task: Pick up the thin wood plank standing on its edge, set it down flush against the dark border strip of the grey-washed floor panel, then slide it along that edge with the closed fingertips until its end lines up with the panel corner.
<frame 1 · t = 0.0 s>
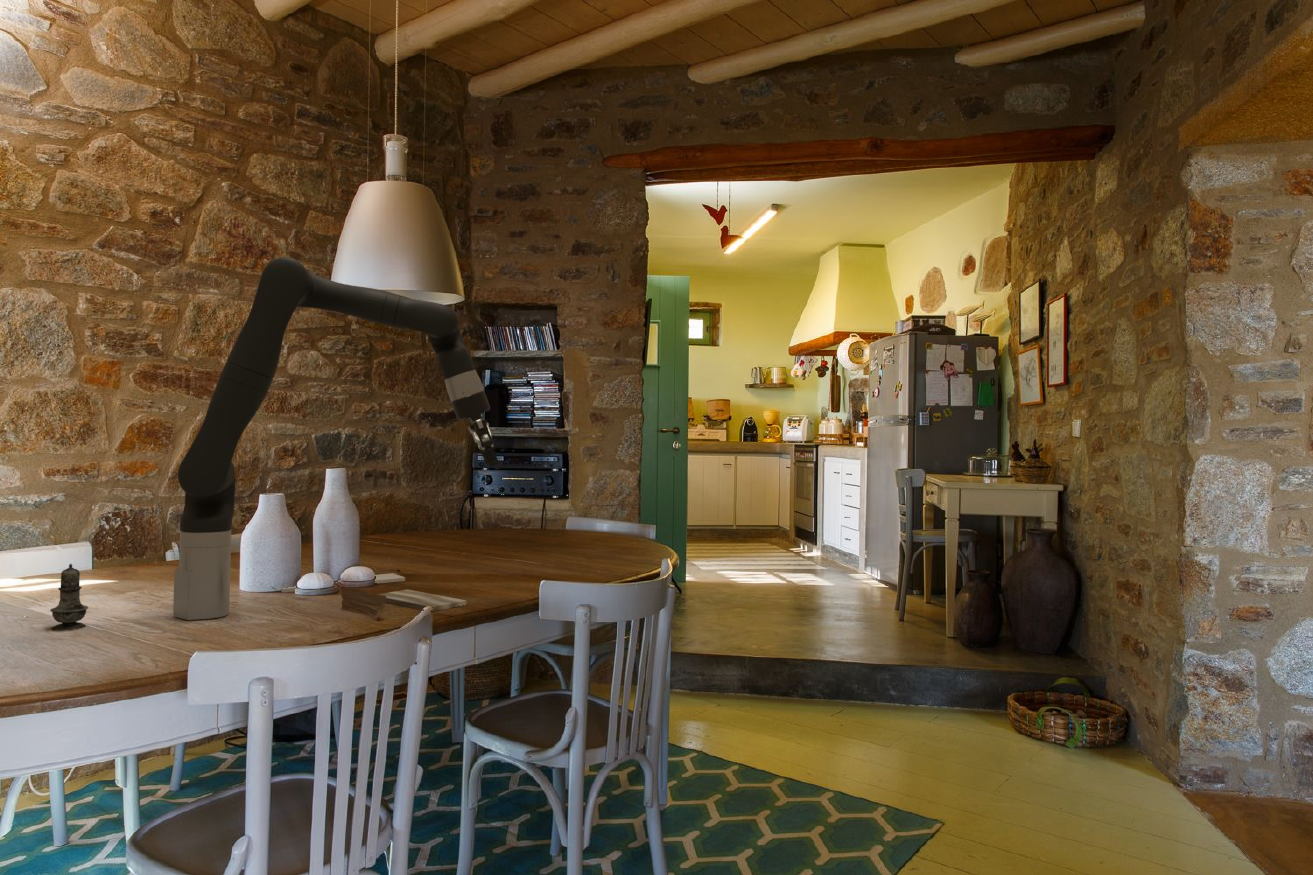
hand: (492, 464, 188), 31 cm above the table, tool tilted 20°, fingers open, 8 cm apart
salt shaker: (69, 628, 160), on the table
floor panel: (418, 602, 192), on the table
wood plank: (360, 616, 178), on the table
baseboard: (339, 586, 213), on the table
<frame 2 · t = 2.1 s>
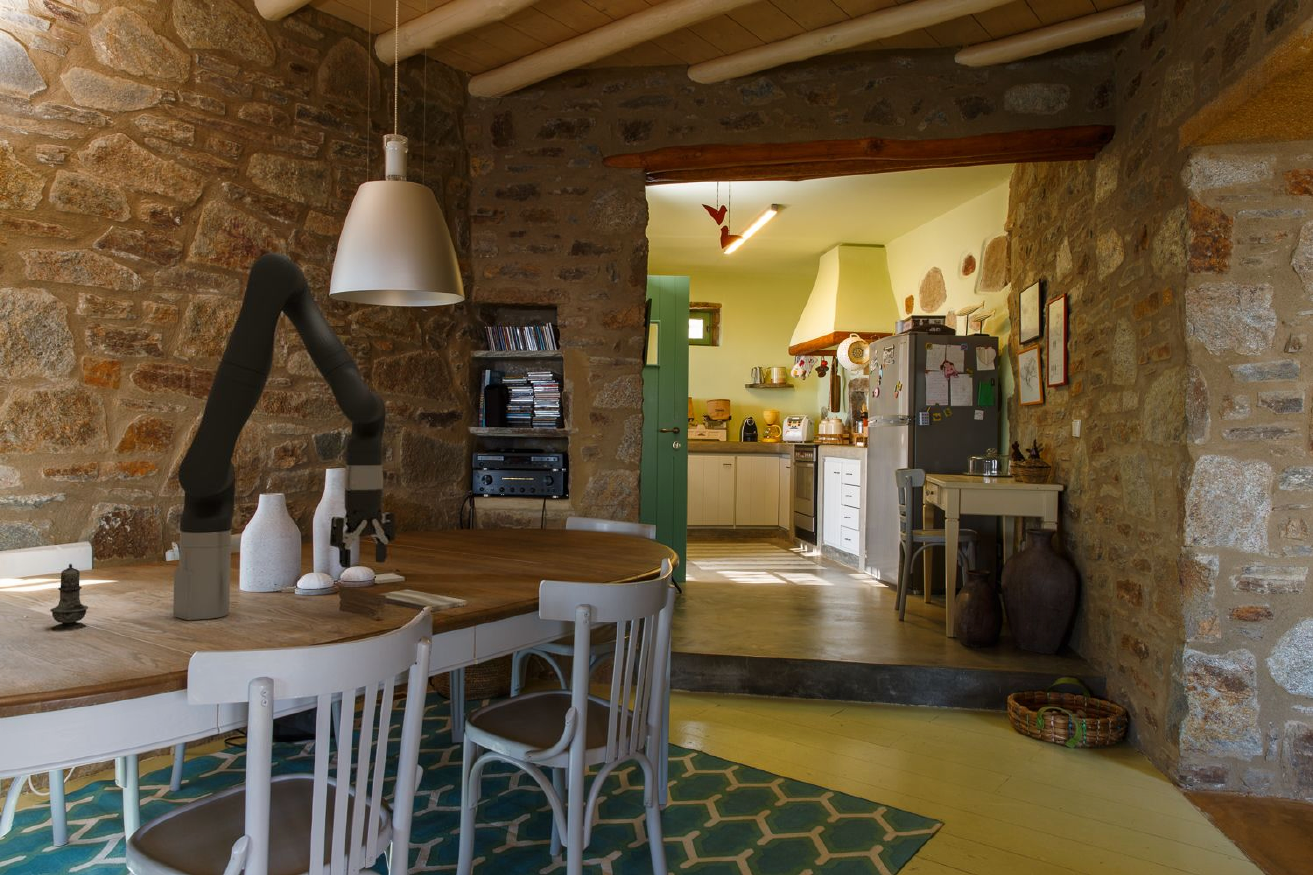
hand: (363, 564, 178), 10 cm above the table, tool pointing down, fingers open, 8 cm apart
nothing on the table moved.
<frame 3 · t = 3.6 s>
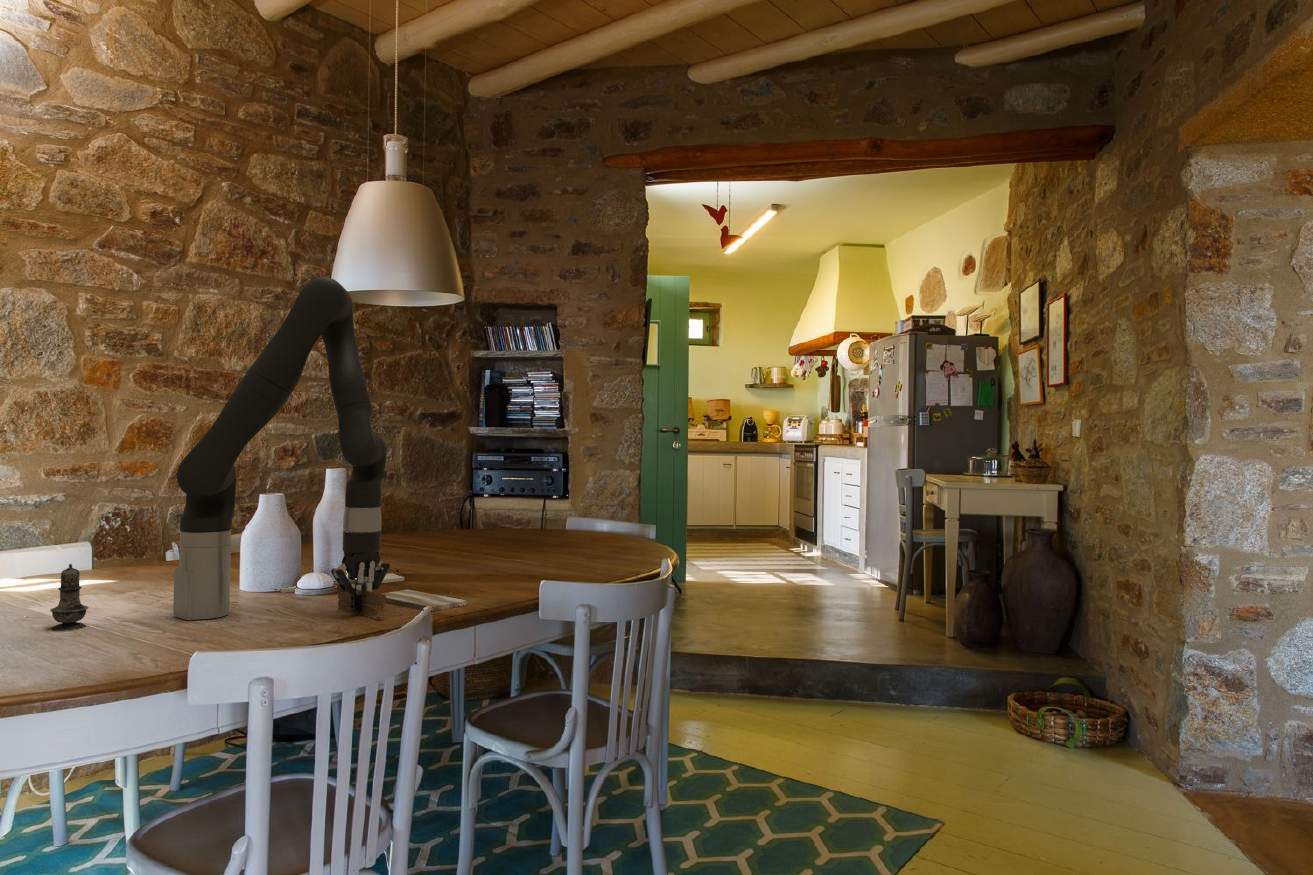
hand: (359, 611, 178), 1 cm above the table, tool pointing down, fingers closed on wood plank, 1 cm apart
wood plank: (359, 615, 178), on the table, touching gripper
everything else where it was.
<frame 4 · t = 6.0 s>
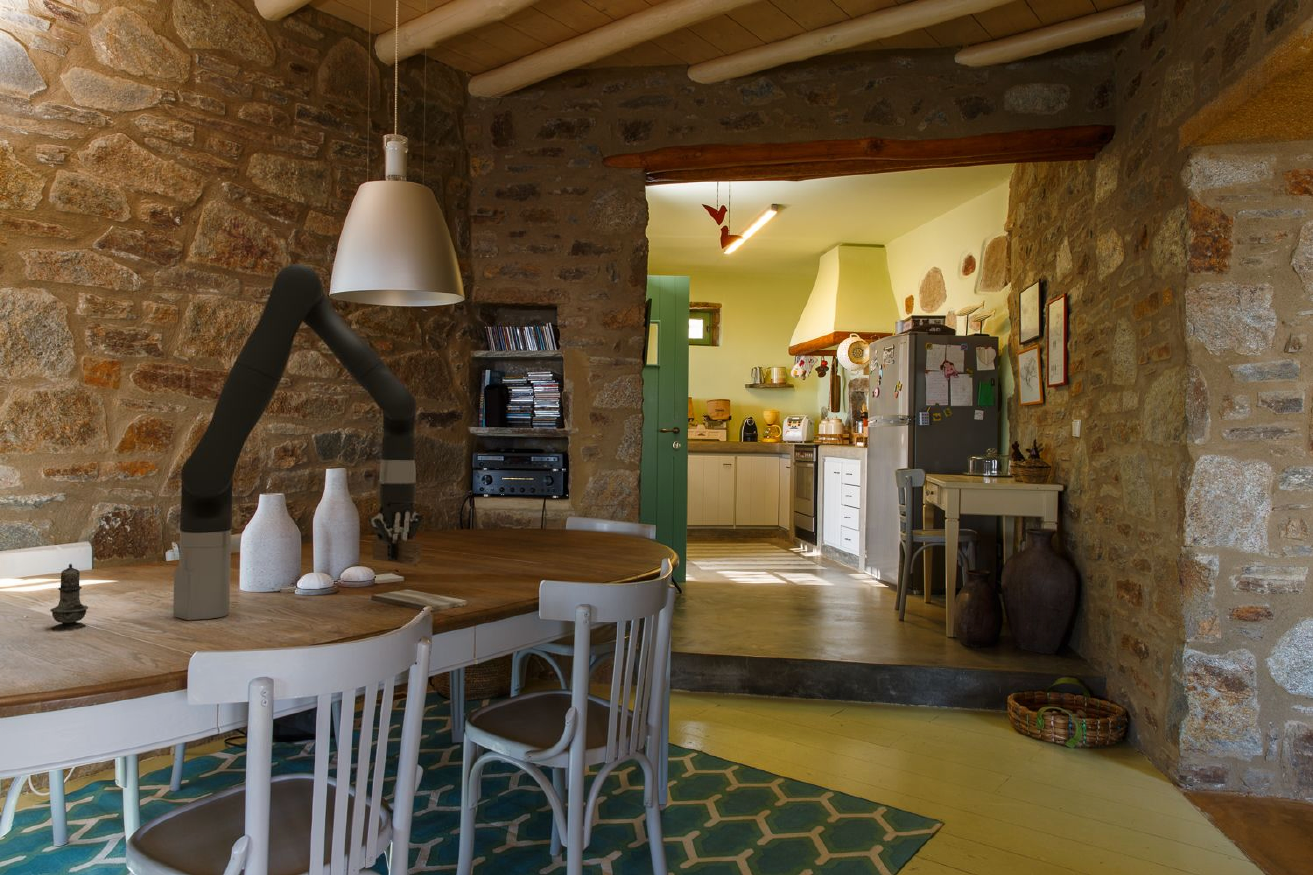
hand: (395, 560, 186), 10 cm above the table, tool pointing down, fingers closed on wood plank, 1 cm apart
wood plank: (395, 563, 186), point 9 cm above the table, touching gripper
everything else where it was.
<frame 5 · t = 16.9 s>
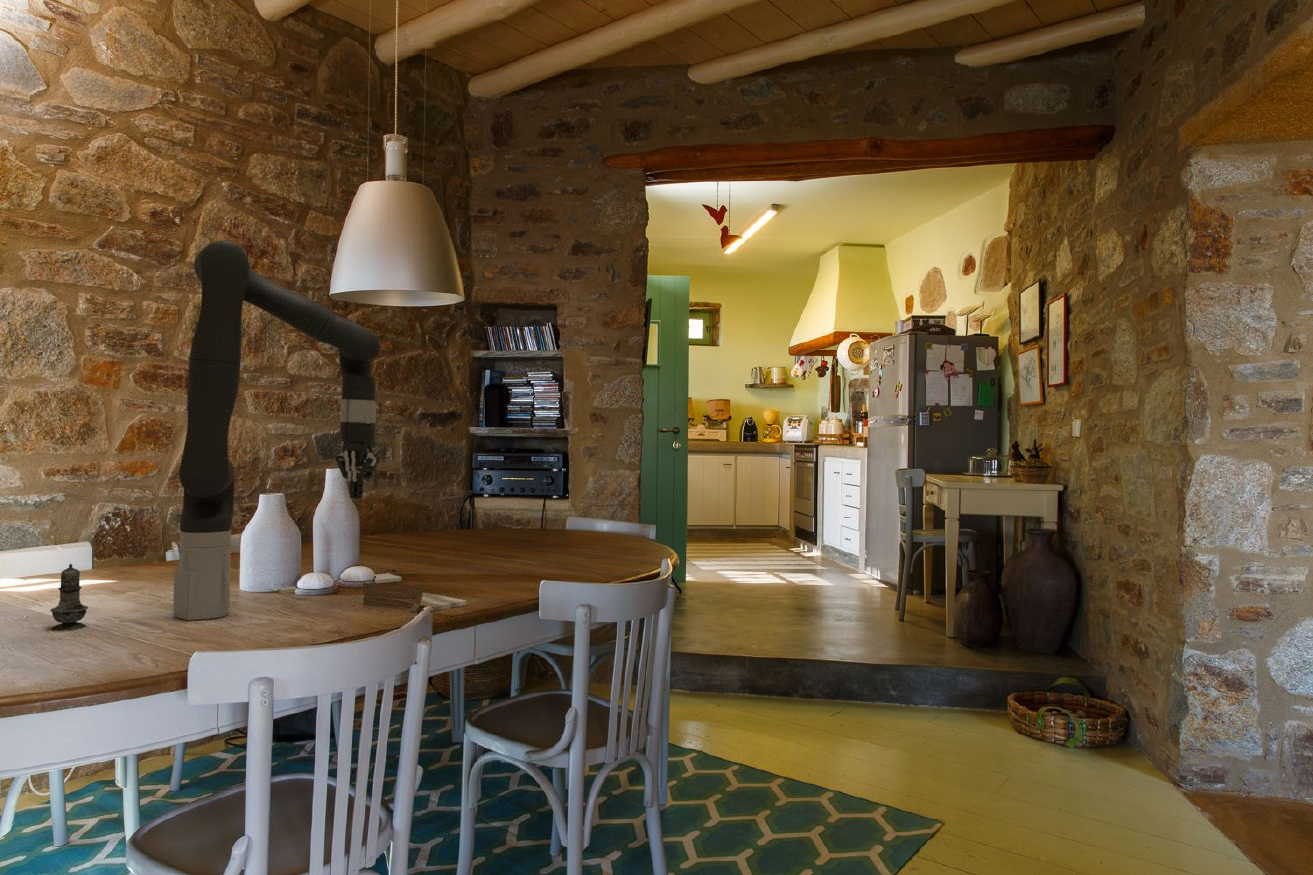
hand: (355, 498, 191), 23 cm above the table, tool pointing down, fingers closed
wood plank: (390, 610, 185), on the table
at the end: wood plank inside the target area (1.5 cm from its centre), on the table; wood plank tilted 0° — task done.
